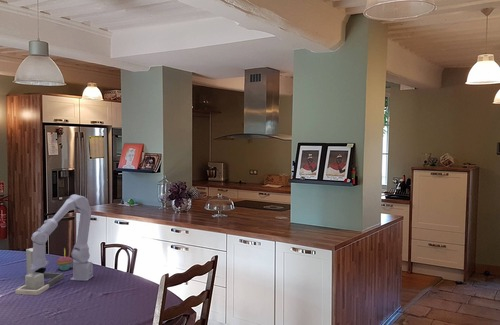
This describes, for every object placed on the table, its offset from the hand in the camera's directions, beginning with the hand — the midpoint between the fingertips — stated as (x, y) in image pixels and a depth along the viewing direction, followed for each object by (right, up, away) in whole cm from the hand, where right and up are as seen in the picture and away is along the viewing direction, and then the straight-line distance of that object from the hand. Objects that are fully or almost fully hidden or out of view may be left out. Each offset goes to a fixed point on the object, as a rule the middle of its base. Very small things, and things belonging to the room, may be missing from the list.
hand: (39, 283), depth 221 cm
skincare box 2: (0, -2, -4) cm, 5 cm away
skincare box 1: (-10, -1, +16) cm, 19 cm away
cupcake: (0, -1, +30) cm, 30 cm away
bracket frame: (0, -2, -6) cm, 7 cm away
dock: (0, -1, +7) cm, 7 cm away
